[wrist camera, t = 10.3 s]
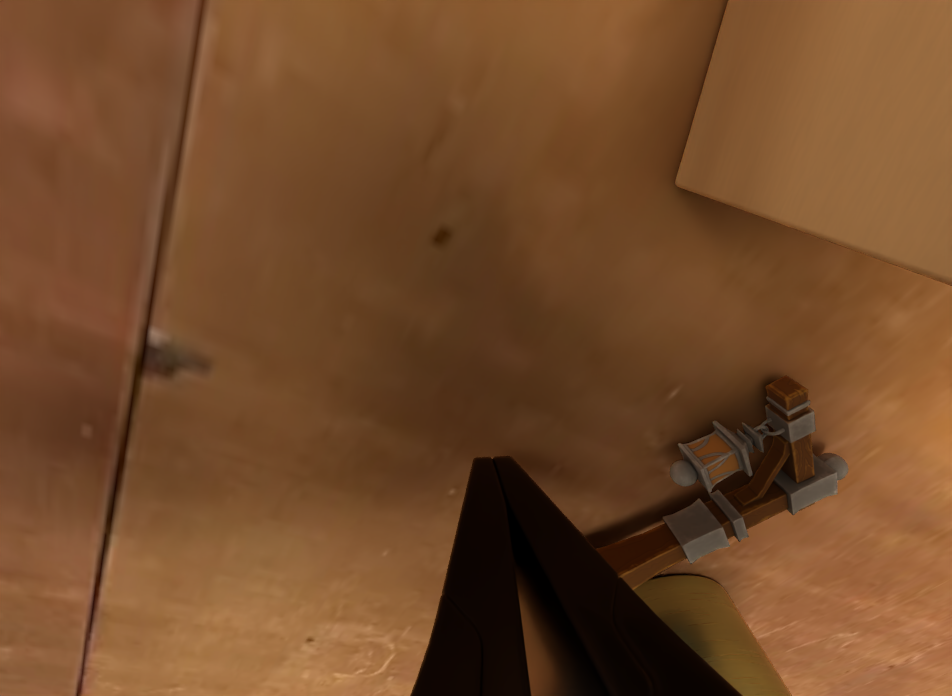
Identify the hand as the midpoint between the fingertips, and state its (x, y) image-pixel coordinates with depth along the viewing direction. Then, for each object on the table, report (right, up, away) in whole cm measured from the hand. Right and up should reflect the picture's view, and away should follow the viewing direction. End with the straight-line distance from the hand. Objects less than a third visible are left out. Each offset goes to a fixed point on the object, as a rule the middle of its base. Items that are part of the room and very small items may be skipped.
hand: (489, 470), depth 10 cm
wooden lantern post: (+4, -1, +1) cm, 4 cm away
